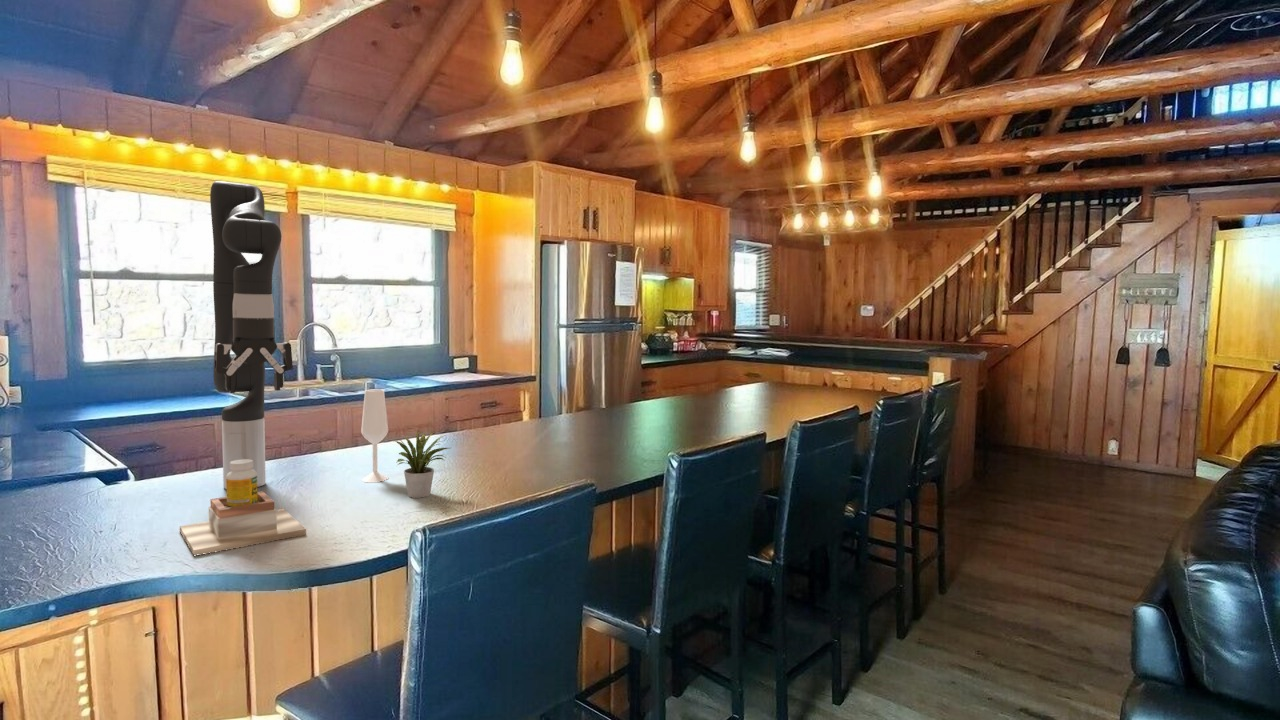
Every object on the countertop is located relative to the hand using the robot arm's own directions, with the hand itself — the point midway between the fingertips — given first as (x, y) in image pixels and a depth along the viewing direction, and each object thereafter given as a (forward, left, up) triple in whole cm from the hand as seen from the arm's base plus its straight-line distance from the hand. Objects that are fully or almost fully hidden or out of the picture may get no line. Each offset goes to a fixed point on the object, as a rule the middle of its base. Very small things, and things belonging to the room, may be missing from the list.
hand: (254, 391), depth 141 cm
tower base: (+9, -4, -28) cm, 29 cm away
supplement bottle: (+9, -4, -23) cm, 25 cm away
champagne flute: (-17, +32, -28) cm, 46 cm away
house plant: (+5, +34, -28) cm, 44 cm away
